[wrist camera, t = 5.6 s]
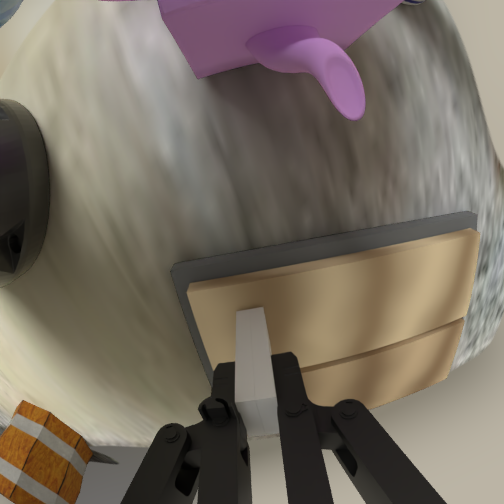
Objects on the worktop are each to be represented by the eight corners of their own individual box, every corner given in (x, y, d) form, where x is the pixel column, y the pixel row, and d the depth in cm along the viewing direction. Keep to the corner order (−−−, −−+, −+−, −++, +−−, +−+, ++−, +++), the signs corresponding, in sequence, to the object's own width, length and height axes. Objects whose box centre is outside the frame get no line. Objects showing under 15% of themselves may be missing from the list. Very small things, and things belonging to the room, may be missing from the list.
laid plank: (239, 425, 21) (240, 436, 20) (219, 371, 19) (218, 383, 17) (440, 370, 21) (446, 378, 19) (457, 310, 18) (465, 317, 17)
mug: (49, 402, 22) (4, 493, 8) (110, 461, 27) (90, 542, 13) (-11, 395, 23) (-47, 452, 9) (37, 447, 28) (13, 503, 14)
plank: (218, 369, 18) (217, 380, 17) (190, 283, 16) (186, 292, 15) (458, 308, 18) (466, 315, 17) (470, 228, 16) (480, 232, 14)
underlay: (230, 419, 22) (230, 429, 21) (174, 263, 17) (170, 271, 16) (441, 364, 22) (446, 370, 21) (467, 210, 17) (477, 214, 15)
